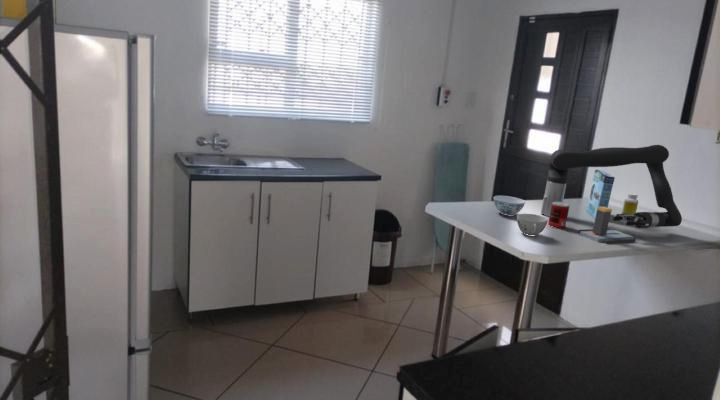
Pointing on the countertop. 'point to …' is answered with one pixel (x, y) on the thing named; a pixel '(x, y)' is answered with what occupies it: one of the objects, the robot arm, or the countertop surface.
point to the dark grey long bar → (619, 240)
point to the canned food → (558, 214)
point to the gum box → (600, 191)
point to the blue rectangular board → (609, 235)
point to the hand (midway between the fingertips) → (620, 220)
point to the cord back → (587, 230)
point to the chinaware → (508, 204)
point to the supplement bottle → (630, 204)
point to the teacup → (531, 223)
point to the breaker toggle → (602, 220)
